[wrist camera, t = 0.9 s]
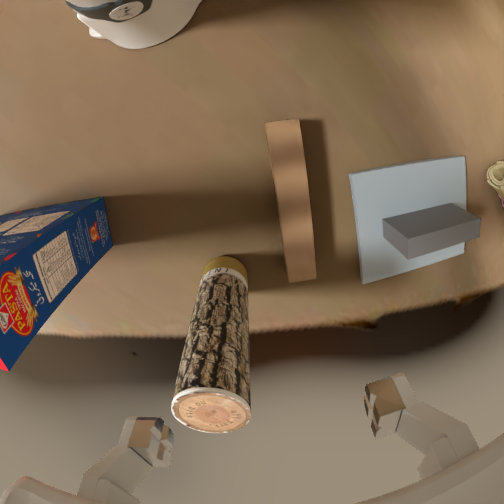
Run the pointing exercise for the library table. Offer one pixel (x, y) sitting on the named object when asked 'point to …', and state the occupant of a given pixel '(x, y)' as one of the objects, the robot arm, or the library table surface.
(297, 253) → the light brown wooden bar
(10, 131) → the library table surface
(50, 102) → the library table surface
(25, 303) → the pasta box
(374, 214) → the ridge stand
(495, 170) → the scroll
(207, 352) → the bark cylinder
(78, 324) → the library table surface
